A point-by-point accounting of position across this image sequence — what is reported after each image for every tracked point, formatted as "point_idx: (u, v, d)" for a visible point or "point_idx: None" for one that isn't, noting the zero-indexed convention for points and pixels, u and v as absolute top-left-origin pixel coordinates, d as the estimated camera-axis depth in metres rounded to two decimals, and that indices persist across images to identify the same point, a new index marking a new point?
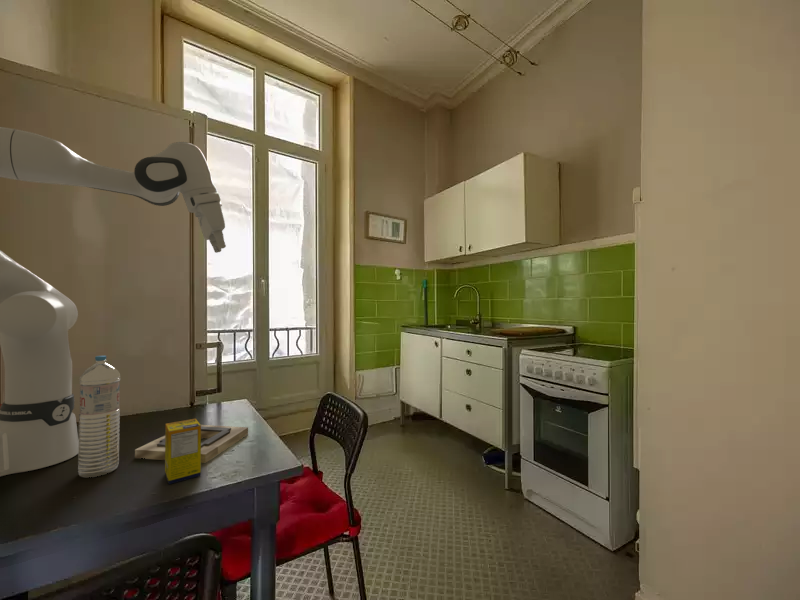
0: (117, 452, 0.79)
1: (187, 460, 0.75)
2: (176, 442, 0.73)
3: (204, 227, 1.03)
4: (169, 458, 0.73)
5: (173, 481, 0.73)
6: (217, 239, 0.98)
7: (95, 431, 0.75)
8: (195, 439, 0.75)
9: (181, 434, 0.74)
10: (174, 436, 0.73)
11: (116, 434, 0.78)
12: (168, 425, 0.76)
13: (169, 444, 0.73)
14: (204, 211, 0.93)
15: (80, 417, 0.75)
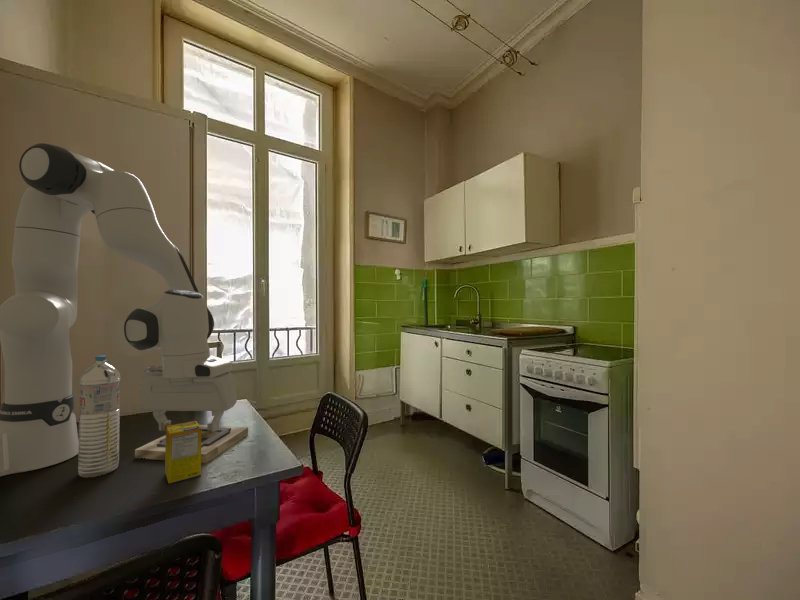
0: (117, 452, 0.79)
1: (187, 463, 0.75)
2: (177, 445, 0.73)
3: (176, 398, 0.75)
4: (169, 461, 0.73)
5: None
6: (216, 420, 0.75)
7: (95, 431, 0.75)
8: (195, 442, 0.76)
9: (181, 437, 0.74)
10: (174, 438, 0.73)
11: (116, 434, 0.78)
12: (168, 427, 0.76)
13: (170, 447, 0.73)
14: (224, 387, 0.74)
15: (80, 417, 0.75)
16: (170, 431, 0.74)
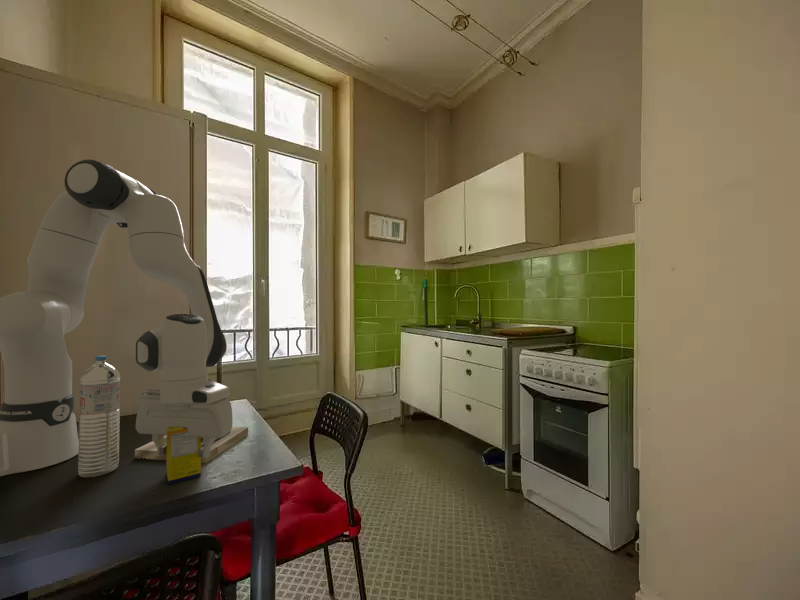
0: (117, 452, 0.79)
1: (187, 461, 0.74)
2: (176, 442, 0.73)
3: (172, 423, 0.75)
4: (169, 458, 0.73)
5: (173, 481, 0.73)
6: (207, 446, 0.75)
7: (95, 431, 0.75)
8: (195, 439, 0.75)
9: (181, 434, 0.74)
10: (174, 436, 0.73)
11: (116, 434, 0.78)
12: None
13: (169, 444, 0.73)
14: (220, 414, 0.74)
15: (80, 417, 0.75)
16: (170, 428, 0.74)
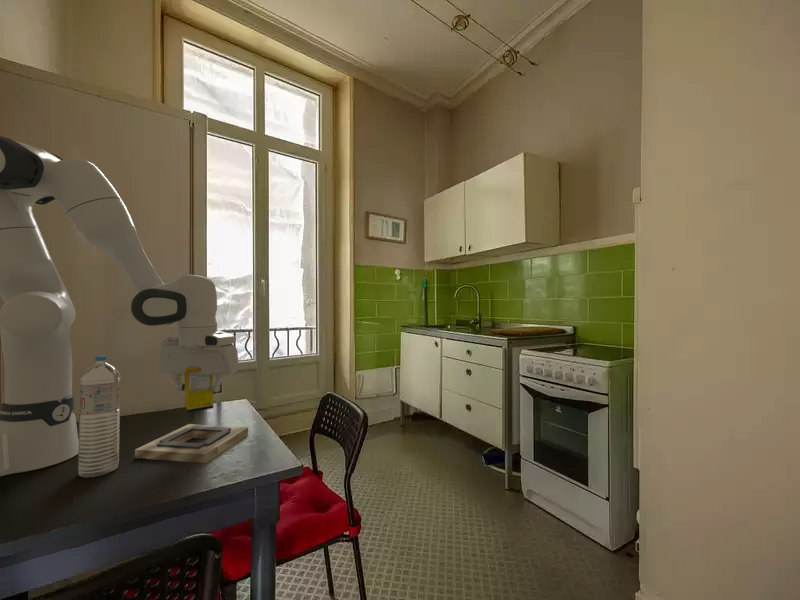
0: (117, 452, 0.79)
1: (202, 394, 0.91)
2: (192, 379, 0.89)
3: (188, 363, 0.91)
4: (187, 391, 0.89)
5: (191, 410, 0.89)
6: (218, 382, 0.91)
7: (95, 431, 0.75)
8: (208, 378, 0.91)
9: (196, 372, 0.90)
10: (190, 374, 0.89)
11: (116, 434, 0.78)
12: None
13: (187, 380, 0.89)
14: (228, 355, 0.90)
15: (80, 417, 0.75)
16: (187, 368, 0.90)
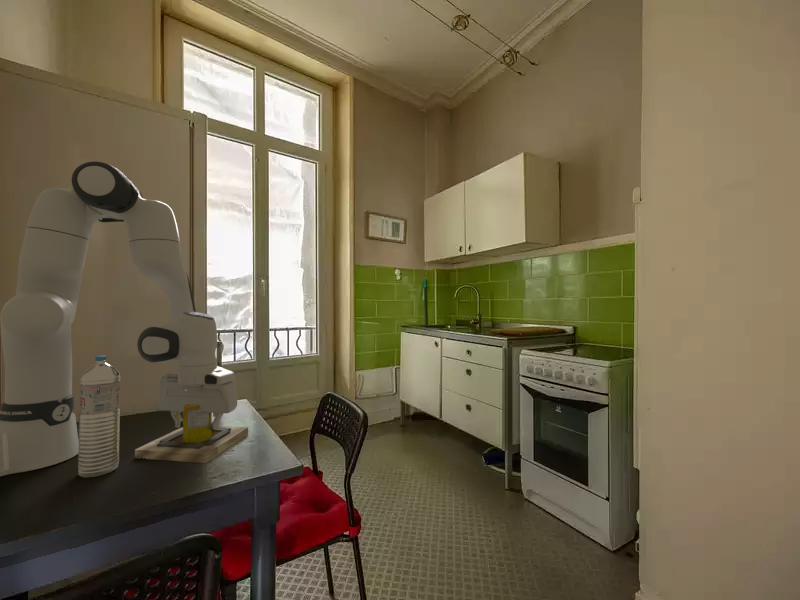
0: (117, 452, 0.79)
1: (200, 432, 0.91)
2: (191, 417, 0.90)
3: (187, 401, 0.91)
4: (186, 429, 0.89)
5: None
6: (216, 420, 0.91)
7: (95, 431, 0.75)
8: (206, 415, 0.92)
9: (195, 410, 0.90)
10: (190, 411, 0.89)
11: (116, 434, 0.78)
12: None
13: (186, 418, 0.89)
14: (227, 394, 0.90)
15: (80, 417, 0.75)
16: (186, 405, 0.90)
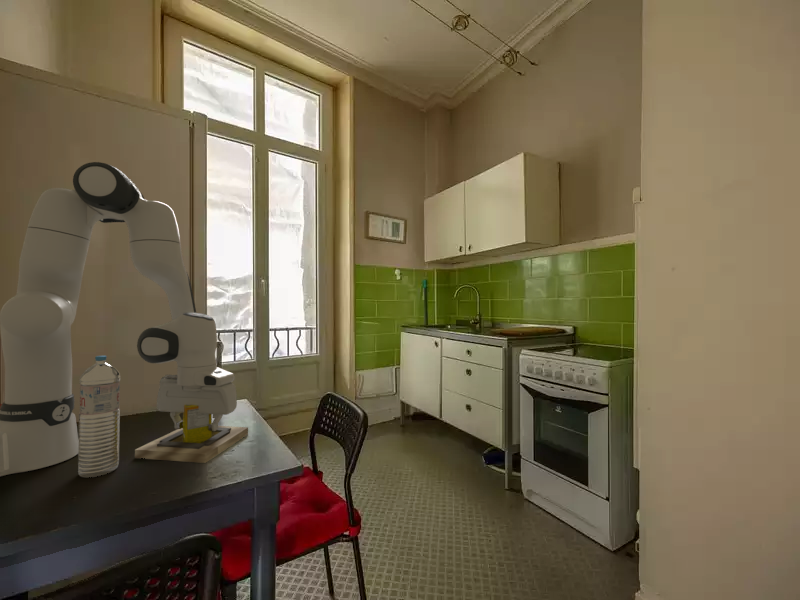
0: (117, 452, 0.79)
1: (200, 432, 0.91)
2: (191, 417, 0.90)
3: (187, 402, 0.91)
4: (186, 429, 0.89)
5: None
6: (216, 421, 0.91)
7: (95, 431, 0.75)
8: (206, 415, 0.91)
9: (195, 410, 0.90)
10: (190, 411, 0.89)
11: (116, 434, 0.78)
12: None
13: (186, 418, 0.89)
14: (227, 395, 0.89)
15: (80, 417, 0.75)
16: (186, 405, 0.90)
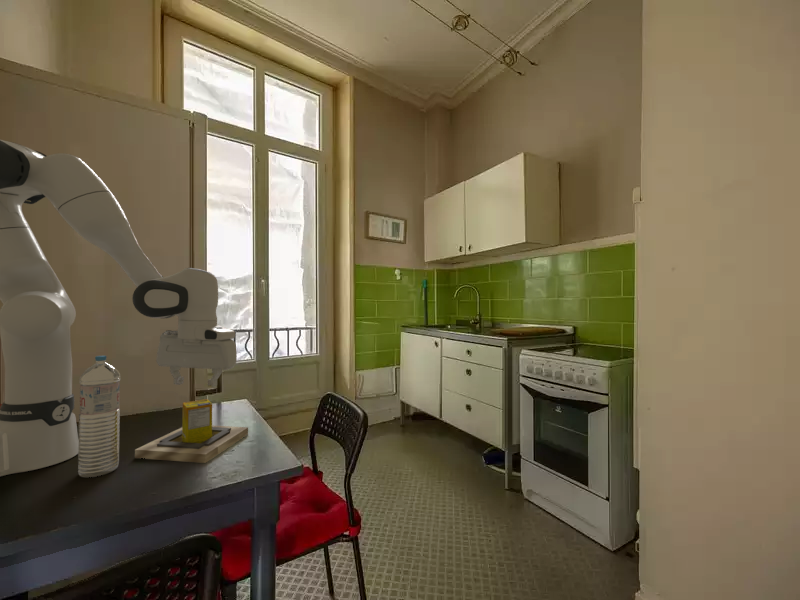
0: (117, 452, 0.79)
1: (201, 432, 0.91)
2: (192, 417, 0.90)
3: (186, 357, 0.91)
4: (186, 429, 0.89)
5: None
6: (215, 377, 0.91)
7: (95, 431, 0.75)
8: (207, 415, 0.92)
9: (196, 410, 0.90)
10: (190, 411, 0.89)
11: (116, 434, 0.78)
12: (185, 403, 0.92)
13: (187, 418, 0.89)
14: (227, 350, 0.90)
15: (80, 417, 0.75)
16: (187, 406, 0.90)
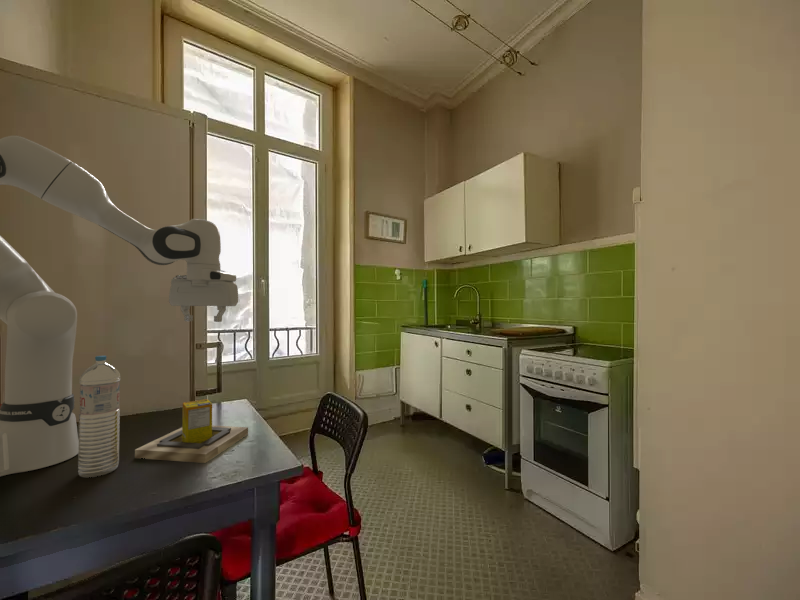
0: (117, 452, 0.79)
1: (201, 432, 0.91)
2: (192, 417, 0.90)
3: (195, 296, 1.05)
4: (186, 429, 0.89)
5: None
6: (220, 313, 1.05)
7: (95, 431, 0.75)
8: (207, 415, 0.92)
9: (196, 410, 0.90)
10: (190, 412, 0.89)
11: (116, 434, 0.78)
12: (185, 403, 0.92)
13: (187, 418, 0.89)
14: (229, 288, 1.04)
15: (80, 417, 0.75)
16: (187, 406, 0.90)
